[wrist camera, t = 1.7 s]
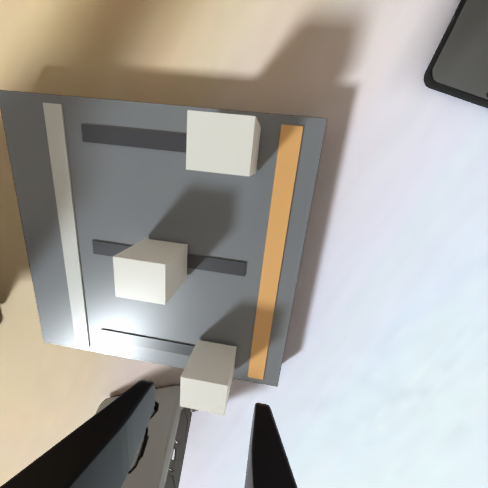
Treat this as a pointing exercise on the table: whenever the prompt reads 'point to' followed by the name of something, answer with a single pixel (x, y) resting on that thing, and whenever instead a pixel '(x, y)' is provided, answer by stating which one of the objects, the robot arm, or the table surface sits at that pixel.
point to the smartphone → (463, 55)
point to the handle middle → (150, 270)
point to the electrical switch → (160, 442)
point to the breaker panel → (159, 227)
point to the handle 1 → (222, 143)
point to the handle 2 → (208, 377)
